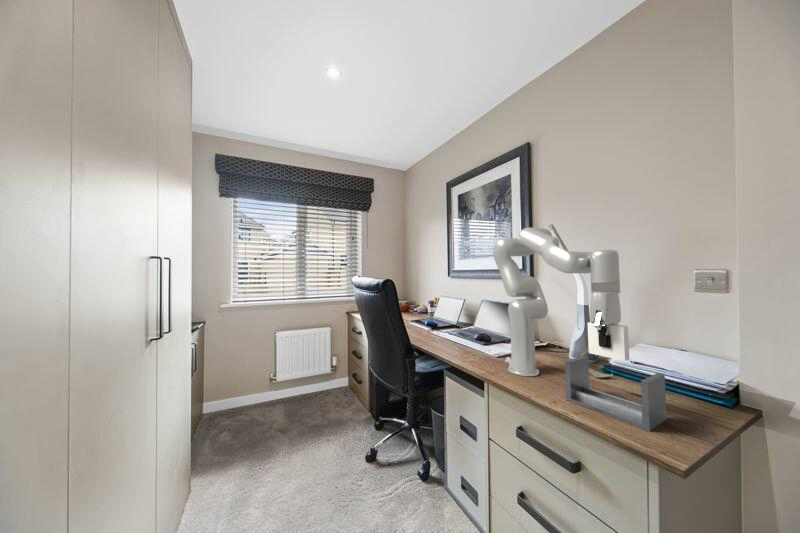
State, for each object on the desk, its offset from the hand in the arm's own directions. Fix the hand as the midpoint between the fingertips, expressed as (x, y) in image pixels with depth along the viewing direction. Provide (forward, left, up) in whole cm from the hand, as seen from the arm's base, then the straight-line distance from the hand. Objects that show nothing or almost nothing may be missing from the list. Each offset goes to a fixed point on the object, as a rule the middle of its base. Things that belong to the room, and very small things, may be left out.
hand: (607, 345), depth 89 cm
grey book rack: (+1, 0, -20) cm, 20 cm away
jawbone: (-20, +29, -20) cm, 40 cm away
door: (0, 0, -3) cm, 3 cm away
